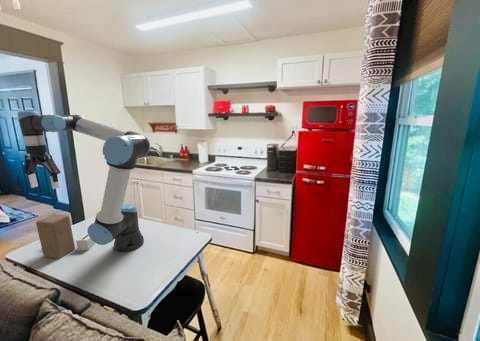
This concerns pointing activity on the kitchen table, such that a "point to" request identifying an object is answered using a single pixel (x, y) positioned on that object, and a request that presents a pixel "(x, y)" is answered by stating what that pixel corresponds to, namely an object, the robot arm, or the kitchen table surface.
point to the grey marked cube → (85, 243)
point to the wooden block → (55, 235)
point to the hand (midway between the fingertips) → (45, 187)
